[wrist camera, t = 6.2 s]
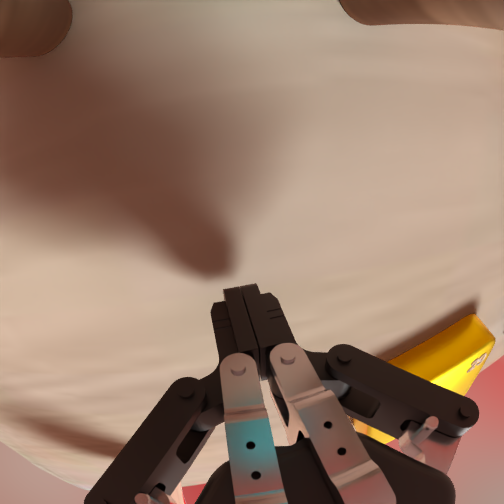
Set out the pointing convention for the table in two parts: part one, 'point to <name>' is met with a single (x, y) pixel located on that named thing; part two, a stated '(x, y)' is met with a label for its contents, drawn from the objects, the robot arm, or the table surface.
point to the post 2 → (427, 12)
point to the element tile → (444, 361)
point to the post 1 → (32, 26)
